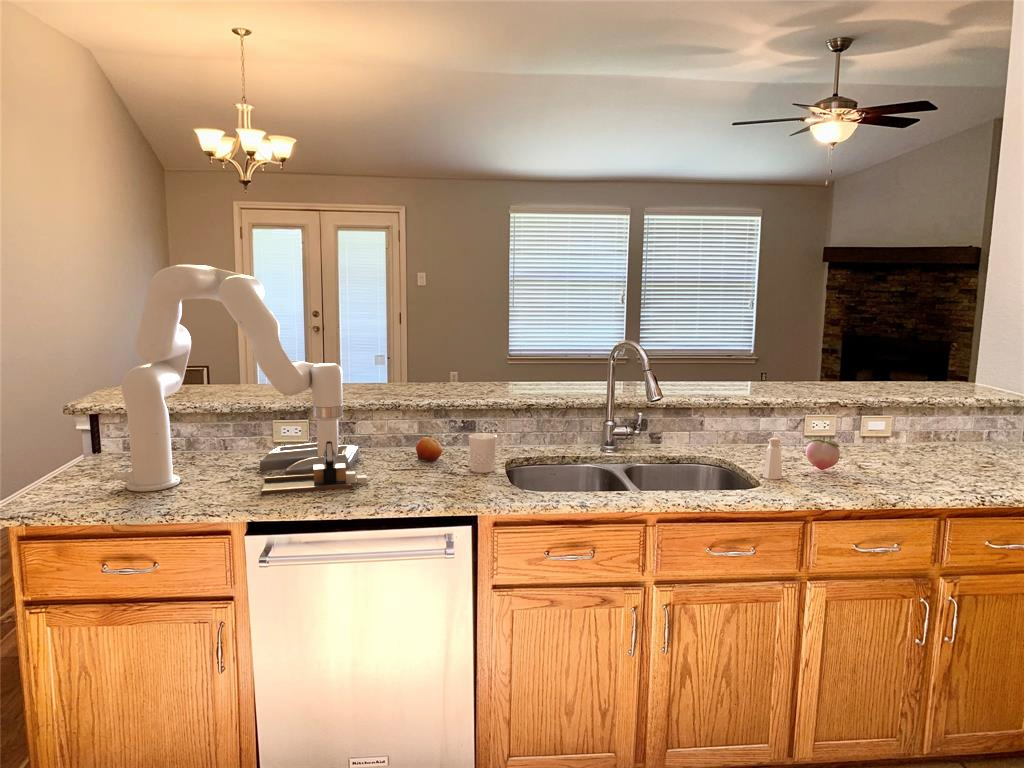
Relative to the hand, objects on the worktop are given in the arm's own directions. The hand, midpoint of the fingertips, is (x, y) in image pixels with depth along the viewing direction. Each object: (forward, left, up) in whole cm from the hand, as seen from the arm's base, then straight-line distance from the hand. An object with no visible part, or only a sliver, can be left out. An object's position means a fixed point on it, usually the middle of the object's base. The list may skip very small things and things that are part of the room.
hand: (329, 479), depth 182 cm
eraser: (0, 0, -1) cm, 1 cm away
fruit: (+30, +21, -2) cm, 36 cm away
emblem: (-4, +22, -2) cm, 23 cm away
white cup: (+43, +7, -2) cm, 43 cm away
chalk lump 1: (+5, 0, -1) cm, 5 cm away
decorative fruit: (+140, -16, -2) cm, 140 cm away
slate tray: (-5, 0, -2) cm, 6 cm away
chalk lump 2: (+7, 0, -1) cm, 7 cm away
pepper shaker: (+121, -19, -2) cm, 122 cm away
